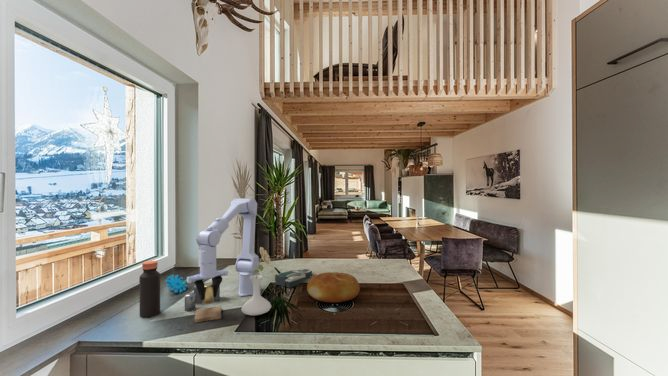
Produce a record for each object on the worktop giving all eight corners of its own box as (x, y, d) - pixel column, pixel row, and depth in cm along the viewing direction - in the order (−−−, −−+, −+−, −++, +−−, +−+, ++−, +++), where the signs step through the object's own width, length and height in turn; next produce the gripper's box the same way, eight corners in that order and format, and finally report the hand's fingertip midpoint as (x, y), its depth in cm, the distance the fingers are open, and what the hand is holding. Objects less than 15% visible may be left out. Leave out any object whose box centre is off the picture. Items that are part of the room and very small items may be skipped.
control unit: (219, 296, 127) (219, 281, 127) (219, 301, 123) (219, 284, 123) (194, 300, 123) (194, 284, 123) (193, 304, 119) (193, 287, 119)
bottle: (155, 317, 107) (155, 264, 107) (135, 318, 106) (135, 265, 106) (163, 309, 114) (163, 259, 114) (144, 310, 113) (144, 260, 113)
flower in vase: (260, 320, 104) (260, 252, 104) (234, 315, 108) (234, 250, 108) (279, 306, 117) (278, 245, 117) (255, 302, 121) (255, 243, 121)
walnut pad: (221, 308, 114) (221, 306, 114) (221, 318, 106) (221, 315, 106) (196, 312, 111) (196, 309, 111) (194, 322, 103) (194, 319, 103)
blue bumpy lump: (172, 293, 127) (163, 275, 131) (165, 301, 128) (156, 283, 132) (193, 288, 137) (184, 271, 141) (185, 296, 139) (177, 279, 142)
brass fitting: (213, 298, 111) (213, 283, 111) (214, 302, 108) (214, 286, 108) (202, 300, 110) (202, 285, 110) (202, 304, 106) (202, 288, 106)
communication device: (318, 276, 157) (319, 260, 158) (290, 289, 137) (290, 271, 137) (301, 273, 164) (301, 258, 164) (272, 285, 143) (272, 267, 143)
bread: (325, 283, 145) (325, 264, 145) (367, 292, 133) (367, 271, 133) (297, 299, 125) (297, 276, 125) (344, 310, 113) (344, 285, 113)
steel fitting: (196, 306, 117) (196, 291, 117) (195, 310, 113) (195, 295, 113) (185, 308, 115) (185, 293, 115) (184, 312, 112) (184, 296, 112)
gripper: (223, 257, 116) (223, 290, 116) (184, 263, 107) (184, 299, 107) (230, 260, 111) (230, 295, 111) (190, 267, 102) (190, 305, 101)
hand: (208, 297), depth 109 cm, fingers closed on brass fitting, 4 cm apart
